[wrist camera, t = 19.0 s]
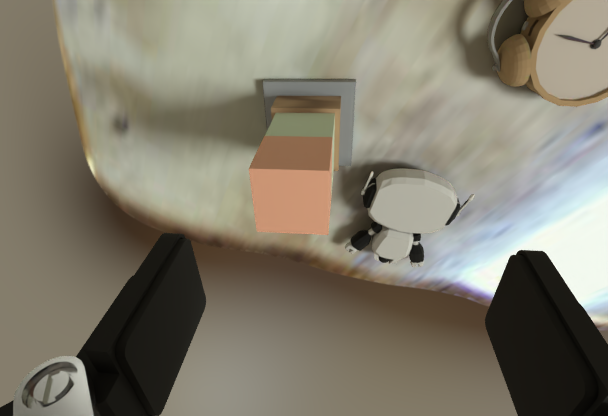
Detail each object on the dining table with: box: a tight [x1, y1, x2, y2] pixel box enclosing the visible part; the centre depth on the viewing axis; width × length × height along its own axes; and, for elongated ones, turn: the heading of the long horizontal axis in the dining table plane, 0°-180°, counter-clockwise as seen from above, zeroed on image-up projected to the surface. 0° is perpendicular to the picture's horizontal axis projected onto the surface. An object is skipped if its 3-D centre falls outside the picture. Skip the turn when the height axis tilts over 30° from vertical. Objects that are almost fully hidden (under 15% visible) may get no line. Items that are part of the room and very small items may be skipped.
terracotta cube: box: [249, 136, 333, 235], centre depth 31 cm, size 6×6×6 cm
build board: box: [263, 79, 356, 166], centre depth 42 cm, size 10×10×1 cm
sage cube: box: [265, 113, 335, 196], centre depth 36 cm, size 6×6×6 cm
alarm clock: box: [487, 0, 608, 107], centre depth 33 cm, size 11×5×15 cm
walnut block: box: [271, 96, 341, 171], centre depth 40 cm, size 7×7×4 cm
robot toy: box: [345, 169, 474, 267], centre depth 46 cm, size 12×4×15 cm
